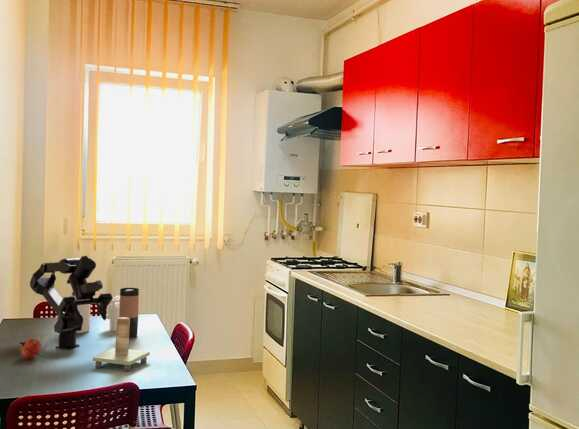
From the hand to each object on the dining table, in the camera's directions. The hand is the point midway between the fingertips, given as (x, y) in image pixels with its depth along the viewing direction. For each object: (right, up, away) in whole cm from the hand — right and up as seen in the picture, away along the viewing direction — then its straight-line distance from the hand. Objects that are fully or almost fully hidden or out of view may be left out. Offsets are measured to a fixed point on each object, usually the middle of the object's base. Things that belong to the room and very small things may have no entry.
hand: (93, 321), depth 218 cm
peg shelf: (+12, -14, -7) cm, 20 cm away
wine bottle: (-20, -12, +40) cm, 46 cm away
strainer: (-6, -12, +44) cm, 46 cm away
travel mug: (+4, -13, +33) cm, 36 cm away
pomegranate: (-21, -13, -3) cm, 25 cm away
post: (+12, -10, -7) cm, 18 cm away
